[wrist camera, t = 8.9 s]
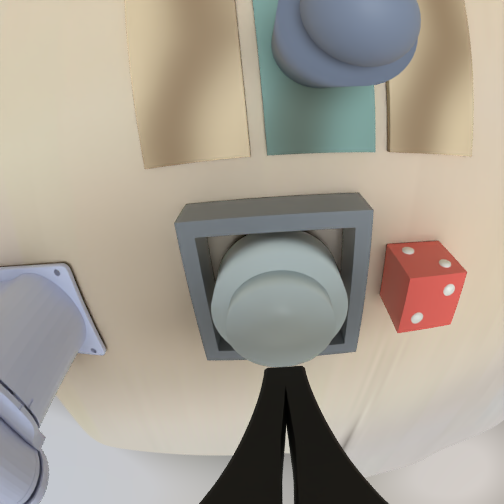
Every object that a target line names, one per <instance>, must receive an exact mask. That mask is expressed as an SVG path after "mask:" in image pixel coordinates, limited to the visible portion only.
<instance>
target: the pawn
mask: <svg viewBox="0 0 504 504" xmlns="http://www.w3.org/2000/svg"><path fill="white" fill-rule="evenodd" d="M420 27H421V14H420V9H419V6H418V3H417V0H278V5H277V11H276V17H275V23H274V29H273V35H272V42H271V48H272V54H273V57H274V60H275V62H276V64H277V65H278V67H279V68H280V70H281V71H282V72H283V73H284V74H285V75H286V76H287V77H289V78H290V79H291V80H293V81H295V82H296V83H298V84H301V85H303V86H307V87H311V88H331V87H350V86H370V85H377V84H380V83H384V82H386V81H388V80H391V79H392V78H394V77H396V76H397V75H399V74H400V73H401V72H402V71H403V70H404V69H405V68H406V67H407V66H408V64H409V63H410V61H411V60H412V58H413V56H414V53H415V51H416V47H417V42H418V36H419V32H420Z"/></svg>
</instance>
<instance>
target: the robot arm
mask: <svg viewBox="0 0 504 504" xmlns="http://www.w3.org/2000/svg"><path fill="white" fill-rule="evenodd" d="M57 270H58V271H59V272H60V273H59V272H58V271H57ZM105 352H106V348H105V346H104V344H103V342H102V340H101V338H100V336H99V334H98V332H97V330H96V328H95V325H94V323H93V321H92V319H91V317H90V315H89V312H88V310H87V308H86V306H85V303H84V301H83V299H82V297H81V294H80V292H79V289H78V287H77V285H76V282H75V280H74V277H73V275H72V272H71V269H70V268H69V266H68V265H66V264H65V263H57V264H42V265H27V266H12V267H0V504H39V503H40V502H41V500H42V498H43V496H44V494H45V491H46V489H47V485H48V478H49V468H48V461H47V458H46V456H45V454H44V452H43V451H42V449H41V447H42V445H43V442H44V440H45V436H44V435H43V434H42V433H41V432H40V431H39V428H40V426H41V423H42V421H43V419H44V417H45V415H46V413H47V411H48V408H49V407H50V405H51V403H52V400H53V398H54V397H55V395H56V393H57V391H58V389H59V387H60V385H61V383H62V381H63V379H64V377H65V375H66V373H67V371H68V370H69V368H70V366H71V364H72V362H73V360H74V359H75V357H76V355H77V353H83V354H93V355H104V354H105ZM286 425H287V432H288V439H289V447H290V454H291V462H292V469H293V479H294V504H388V503H387V502H386V501H385V500H384V499H383V498H382V497H381V496H380V495H379V494H378V493H377V492H376V490H375V489H374V488H373V487H372V486H371V485H370V484H369V483H368V481H367V480H366V479H365V478H364V477H363V475H362V474H361V473H360V472H359V471H358V469H357V468H356V467H355V466H354V464H353V463H352V462H351V460H350V459H349V457H348V456H347V455H346V453H345V452H344V450H343V449H342V447H341V446H340V444H339V443H338V441H337V439H336V438H335V436H334V434H333V433H332V431H331V429H330V427H329V426H328V424H327V422H326V420H325V418H324V416H323V414H322V412H321V410H320V408H319V406H318V404H317V402H316V400H315V397H314V395H313V392H312V390H311V387H310V385H309V382H308V379H307V375H306V371H305V368H304V367H303V366H293V367H275V368H267V369H265V370H264V378H263V383H262V387H261V391H260V394H259V398H258V401H257V404H256V407H255V409H254V412H253V415H252V417H251V420H250V422H249V425H248V427H247V429H246V431H245V433H244V436H243V438H242V440H241V442H240V444H239V446H238V448H237V449H236V451H235V453H234V455H233V457H232V459H231V460H230V462H229V463H228V465H227V467H226V468H225V470H224V471H223V473H222V475H221V476H220V477H219V479H218V480H217V482H216V483H215V485H214V486H213V487H212V488H211V490H210V491H209V492H208V493H207V495H206V496H205V497H204V498H203V500H202V501H201V502H200V503H199V504H282V474H283V461H284V449H285V435H286Z"/></svg>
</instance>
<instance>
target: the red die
mask: <svg viewBox="0 0 504 504" xmlns="http://www.w3.org/2000/svg"><path fill="white" fill-rule="evenodd" d="M466 274H467V271H466V270H465V269H464V268H463V267H462V266H461V265H460V264H459V262H458V261H457V260H456V259H455V258H454V257H453V256H452V255H451V254H450V253H449V251H448V250H447V249H446V248H445V247H444V246H443V245H442V244H441V243H440V242H439V241H428V242H412V243H397V244H387V248H386V256H385V264H384V271H383V278H382V284H381V291H380V296H381V298H382V300H383V303H384V305H385V307H386V309H387V311H388V313H389V315H390V318H391V320H392V322H393V324H394V326H395V329H396V331H397V333H402V332H408V331H415V330H421V329H427V328H433V327H438V326H444V325H449V324H451V321H452V319H453V316H454V313H455V310H456V307H457V304H458V301H459V298H460V294H461V291H462V288H463V285H464V281H465V278H466Z"/></svg>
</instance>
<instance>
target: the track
mask: <svg viewBox="0 0 504 504" xmlns="http://www.w3.org/2000/svg"><path fill="white" fill-rule="evenodd" d="M417 3H418V6H419V9H420V14H421V27H420V32H419V36H418V42H417V47H416V51H415V53H414V56H413V58H412V60H411V61H410V63H409V64H408V66H407V67H406V68H405V69H404V70H403V71H402V72H401V73H400V74H399V75H397V76H396V77H394V78H392V79H391V80H388V81H386V89H387V151H389V152H398V153H425V154H443V155H457V156H469V157H471V156H472V141H473V112H474V99H473V70H472V56H471V45H470V36H469V28H468V21H467V15H466V9H465V3H464V0H417ZM124 4H125V21H126V34H127V46H128V56H129V66H130V75H131V83H132V91H133V99H134V106H135V113H136V120H137V127H138V133H139V139H140V145H141V151H142V157H143V162H144V168H145V169H150V168H157V167H164V166H171V165H178V164H186V163H194V162H202V161H211V160H220V159H230V158H241V157H250V145H249V135H248V124H247V114H246V104H245V94H244V84H243V74H242V64H241V54H240V44H239V35H238V25H237V16H236V6H235V0H124ZM277 5H278V0H253V8H254V18H255V27H256V36H257V46H258V56H259V66H260V76H261V87H262V98H263V109H264V120H265V132H266V144H267V155H282V154H301V153H329V152H375V97H374V85H370V86H350V87H331V88H311V87H307V86H303V85H301V84H298V83H296V82H295V81H293V80H291V79H290V78H289V77H287V76H286V75H285V74H284V73H283V72H282V71H281V70H280V68H279V67H278V65H277V64H276V62H275V60H274V57H273V54H272V48H271V42H272V35H273V29H274V23H275V17H276V11H277Z"/></svg>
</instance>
